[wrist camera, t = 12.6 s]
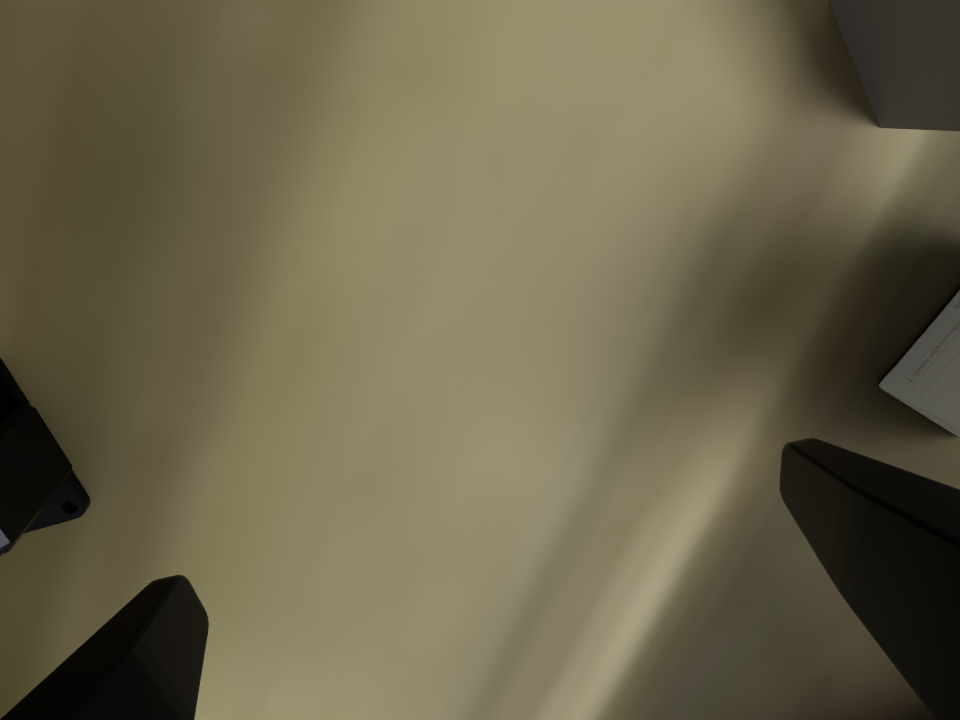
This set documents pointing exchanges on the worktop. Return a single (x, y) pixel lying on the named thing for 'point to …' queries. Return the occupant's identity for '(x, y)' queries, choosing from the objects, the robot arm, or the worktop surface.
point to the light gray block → (906, 59)
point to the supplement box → (932, 371)
